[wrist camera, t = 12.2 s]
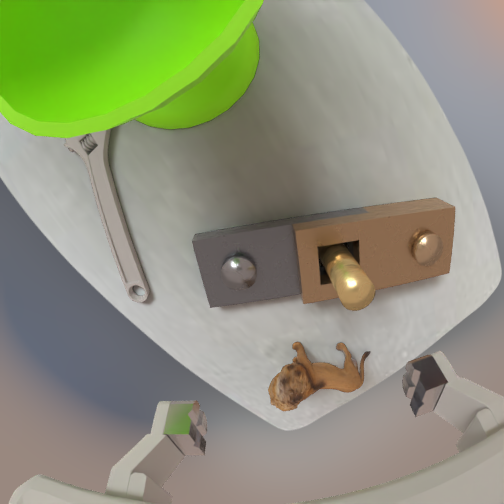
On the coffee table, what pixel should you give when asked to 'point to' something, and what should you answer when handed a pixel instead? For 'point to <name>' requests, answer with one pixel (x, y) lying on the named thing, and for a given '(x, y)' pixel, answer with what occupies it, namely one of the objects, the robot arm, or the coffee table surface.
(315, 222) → the door latch
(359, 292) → the brass pin
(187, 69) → the wineglass
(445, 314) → the coffee table surface
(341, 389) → the lion figurine
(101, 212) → the adjustable wrench
